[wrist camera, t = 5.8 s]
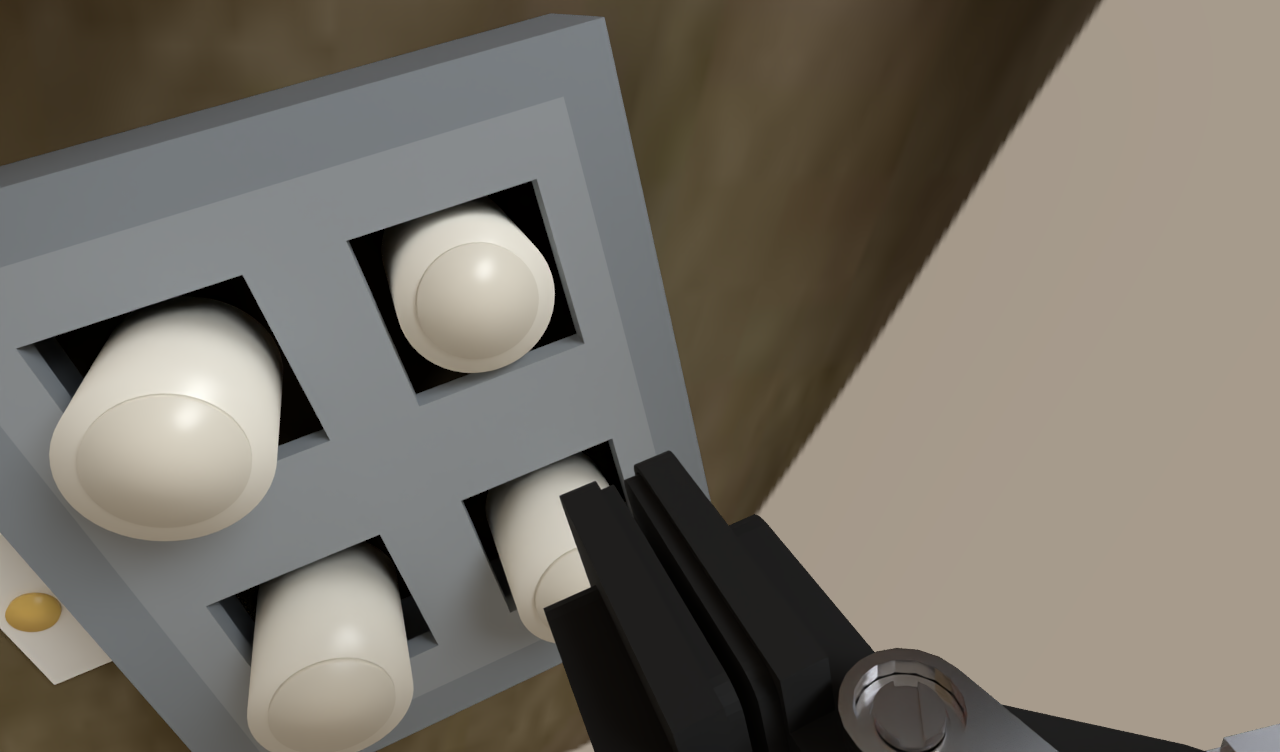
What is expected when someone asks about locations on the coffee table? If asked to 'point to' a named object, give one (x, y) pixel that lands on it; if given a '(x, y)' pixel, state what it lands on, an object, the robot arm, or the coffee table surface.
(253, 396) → the button
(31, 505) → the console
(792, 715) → the robot arm
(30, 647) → the card
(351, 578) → the button
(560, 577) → the button
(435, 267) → the button
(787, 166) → the coffee table surface
